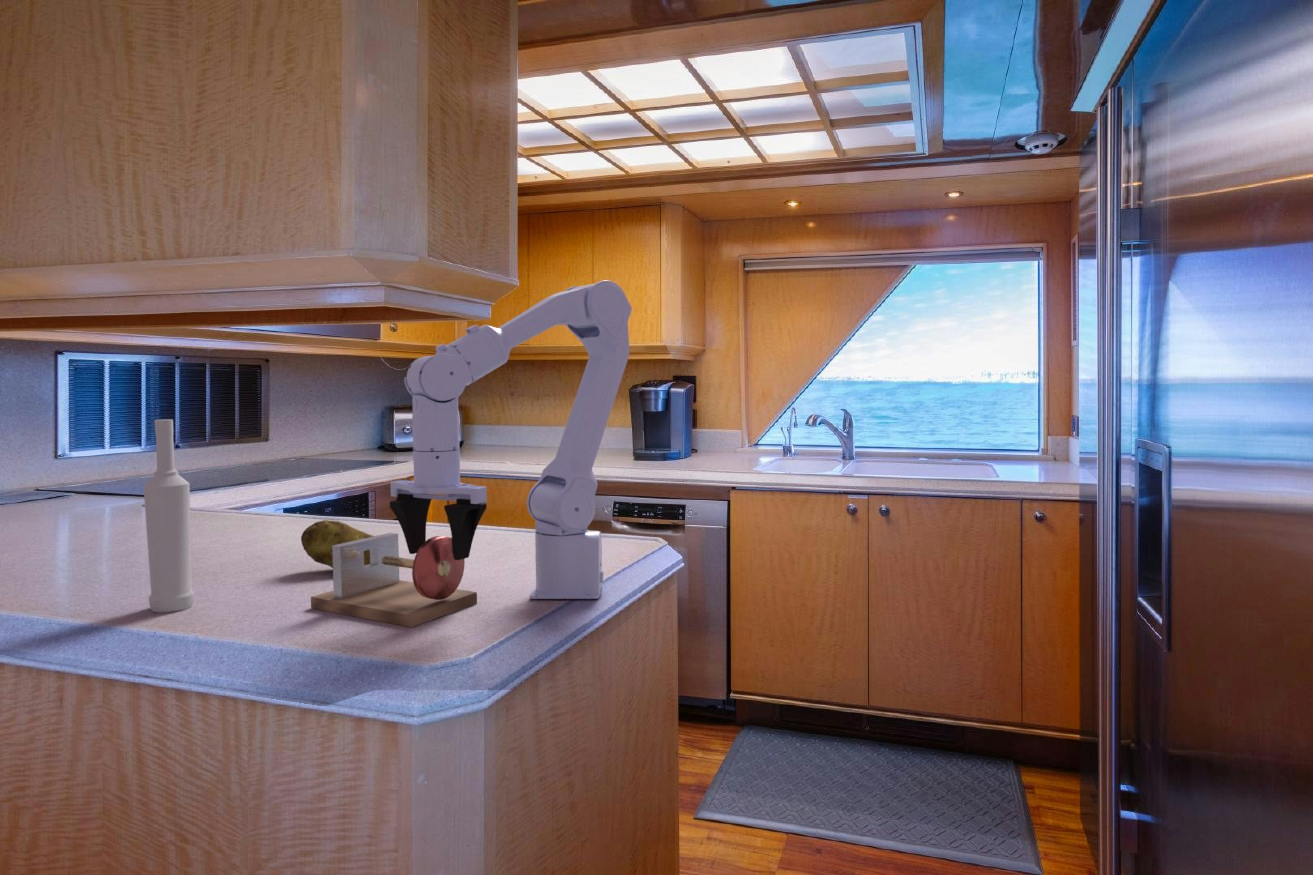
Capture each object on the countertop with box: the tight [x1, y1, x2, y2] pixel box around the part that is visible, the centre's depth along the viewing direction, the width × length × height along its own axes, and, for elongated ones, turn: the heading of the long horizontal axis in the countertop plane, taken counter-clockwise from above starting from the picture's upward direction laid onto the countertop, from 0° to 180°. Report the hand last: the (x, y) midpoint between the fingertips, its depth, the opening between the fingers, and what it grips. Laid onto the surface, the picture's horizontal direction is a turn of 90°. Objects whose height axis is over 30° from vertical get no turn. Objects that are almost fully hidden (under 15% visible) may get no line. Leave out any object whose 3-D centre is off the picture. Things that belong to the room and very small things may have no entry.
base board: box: [310, 579, 478, 628], centre depth 108 cm, size 18×12×2 cm, turn 62°
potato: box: [300, 519, 375, 569], centre depth 128 cm, size 8×13×8 cm, turn 82°
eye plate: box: [332, 532, 400, 600], centre depth 110 cm, size 2×10×7 cm, turn 152°
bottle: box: [143, 418, 195, 614], centre depth 106 cm, size 5×5×25 cm
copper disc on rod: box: [382, 535, 466, 600], centre depth 106 cm, size 11×8×8 cm
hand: (438, 555), depth 103 cm, fingers open, 7 cm apart
